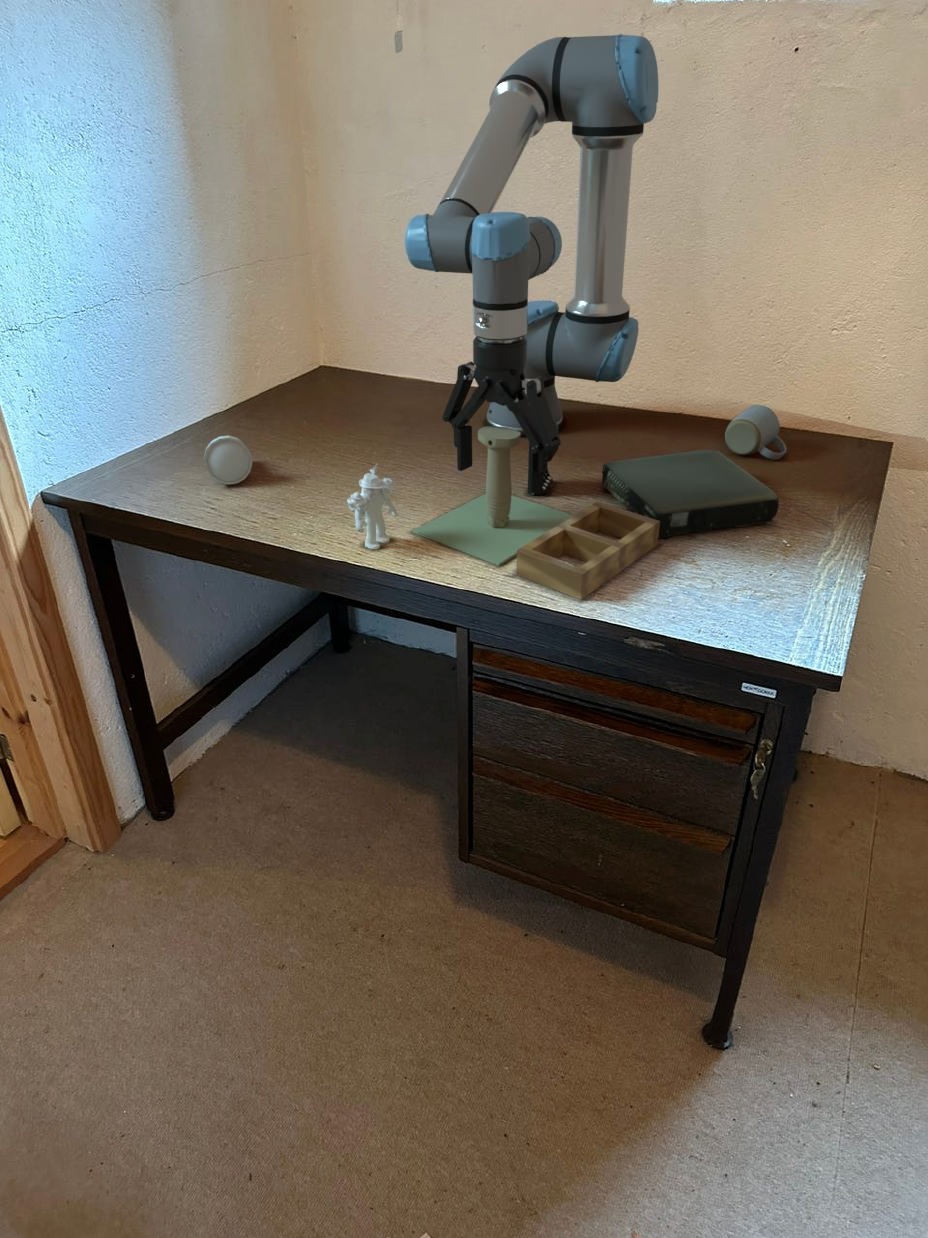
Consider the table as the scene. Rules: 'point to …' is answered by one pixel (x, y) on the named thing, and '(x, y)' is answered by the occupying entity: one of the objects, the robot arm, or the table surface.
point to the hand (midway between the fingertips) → (499, 479)
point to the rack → (587, 549)
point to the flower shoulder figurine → (372, 507)
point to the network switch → (690, 491)
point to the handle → (498, 471)
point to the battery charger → (546, 476)
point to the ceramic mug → (755, 433)
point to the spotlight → (228, 460)
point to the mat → (492, 528)
